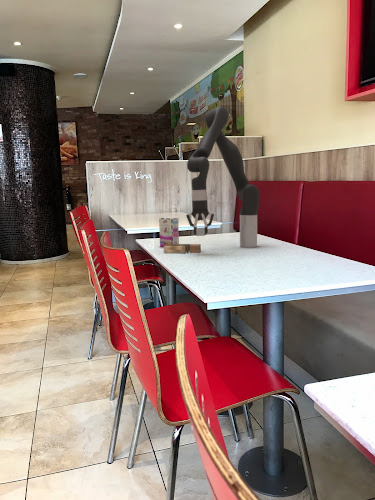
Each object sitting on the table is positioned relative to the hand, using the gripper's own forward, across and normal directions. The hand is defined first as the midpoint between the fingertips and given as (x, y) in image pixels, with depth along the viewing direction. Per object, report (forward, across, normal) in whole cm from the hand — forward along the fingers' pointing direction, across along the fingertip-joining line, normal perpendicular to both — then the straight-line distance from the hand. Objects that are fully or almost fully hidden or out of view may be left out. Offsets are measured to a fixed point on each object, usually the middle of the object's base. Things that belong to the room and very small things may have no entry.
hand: (201, 234), depth 209 cm
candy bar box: (+10, -20, +23) cm, 32 cm away
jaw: (+9, -14, +4) cm, 17 cm away
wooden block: (+10, -10, +7) cm, 16 cm away
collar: (0, 0, 0) cm, 0 cm away
